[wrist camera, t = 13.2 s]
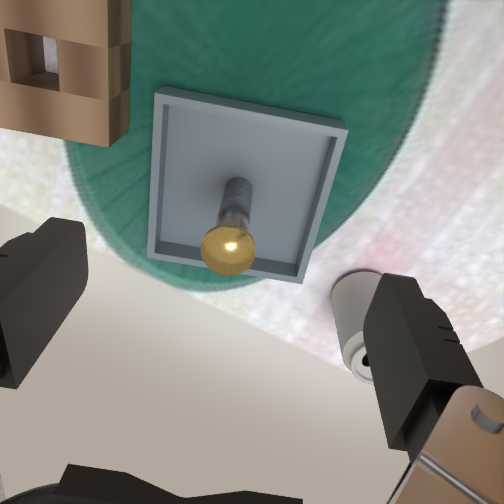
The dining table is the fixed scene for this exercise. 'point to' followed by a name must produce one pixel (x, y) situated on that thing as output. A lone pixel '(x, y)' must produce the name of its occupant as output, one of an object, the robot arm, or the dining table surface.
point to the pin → (231, 231)
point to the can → (354, 319)
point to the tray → (239, 165)
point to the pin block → (66, 69)
